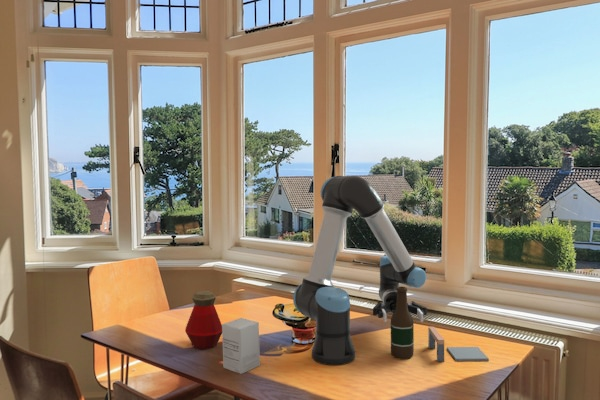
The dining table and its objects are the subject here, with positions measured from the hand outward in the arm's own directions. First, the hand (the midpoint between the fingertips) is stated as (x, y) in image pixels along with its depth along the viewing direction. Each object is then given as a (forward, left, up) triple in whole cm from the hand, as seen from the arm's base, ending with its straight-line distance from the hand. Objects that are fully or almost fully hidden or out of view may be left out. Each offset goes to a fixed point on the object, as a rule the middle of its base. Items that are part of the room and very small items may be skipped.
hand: (403, 317), depth 167 cm
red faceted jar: (-72, +16, -15) cm, 75 cm away
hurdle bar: (+12, +5, -8) cm, 15 cm away
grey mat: (+22, +4, -14) cm, 27 cm away
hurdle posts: (+12, +5, -14) cm, 19 cm away
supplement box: (-55, -5, -15) cm, 57 cm away
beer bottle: (0, +4, -15) cm, 15 cm away
